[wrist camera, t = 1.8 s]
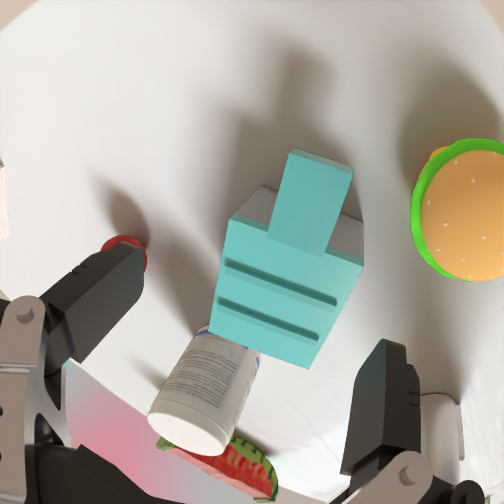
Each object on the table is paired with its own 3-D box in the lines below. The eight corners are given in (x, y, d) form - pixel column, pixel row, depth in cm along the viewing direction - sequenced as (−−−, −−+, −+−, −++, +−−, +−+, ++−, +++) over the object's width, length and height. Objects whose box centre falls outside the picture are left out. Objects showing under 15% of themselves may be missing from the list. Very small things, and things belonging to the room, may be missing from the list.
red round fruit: (164, 267, 38) (127, 305, 31) (130, 265, 40) (92, 299, 33) (152, 223, 35) (108, 257, 29) (117, 224, 37) (74, 255, 31)
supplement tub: (184, 330, 43) (129, 410, 31) (233, 311, 38) (178, 407, 26) (226, 375, 45) (185, 456, 33) (277, 363, 40) (241, 458, 28)
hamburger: (497, 261, 24) (527, 315, 17) (393, 246, 28) (401, 302, 21) (524, 145, 19) (575, 171, 11) (409, 118, 22) (433, 131, 15)
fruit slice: (176, 408, 57) (154, 446, 48) (190, 402, 53) (166, 444, 45) (270, 466, 59) (257, 502, 51) (289, 463, 56) (277, 502, 48)
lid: (394, 181, 19) (399, 192, 17) (311, 355, 29) (306, 375, 27) (254, 133, 21) (242, 139, 18) (215, 319, 30) (204, 336, 28)
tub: (363, 221, 28) (363, 259, 22) (320, 315, 34) (310, 361, 28) (260, 185, 29) (234, 213, 23) (236, 284, 36) (212, 324, 30)
